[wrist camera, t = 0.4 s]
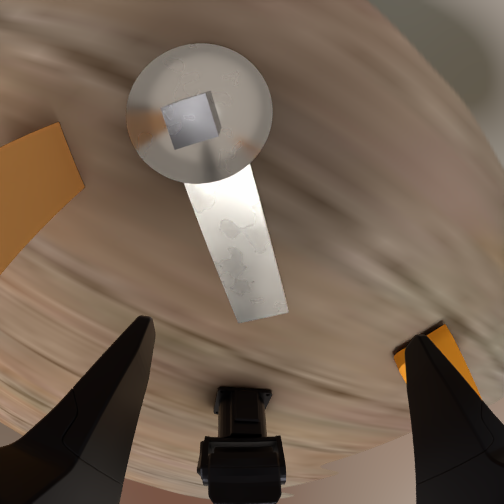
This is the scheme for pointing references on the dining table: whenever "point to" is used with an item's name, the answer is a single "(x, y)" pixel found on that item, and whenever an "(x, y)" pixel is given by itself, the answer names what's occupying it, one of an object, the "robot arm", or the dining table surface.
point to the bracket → (448, 348)
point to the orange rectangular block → (33, 187)
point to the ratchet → (213, 160)
